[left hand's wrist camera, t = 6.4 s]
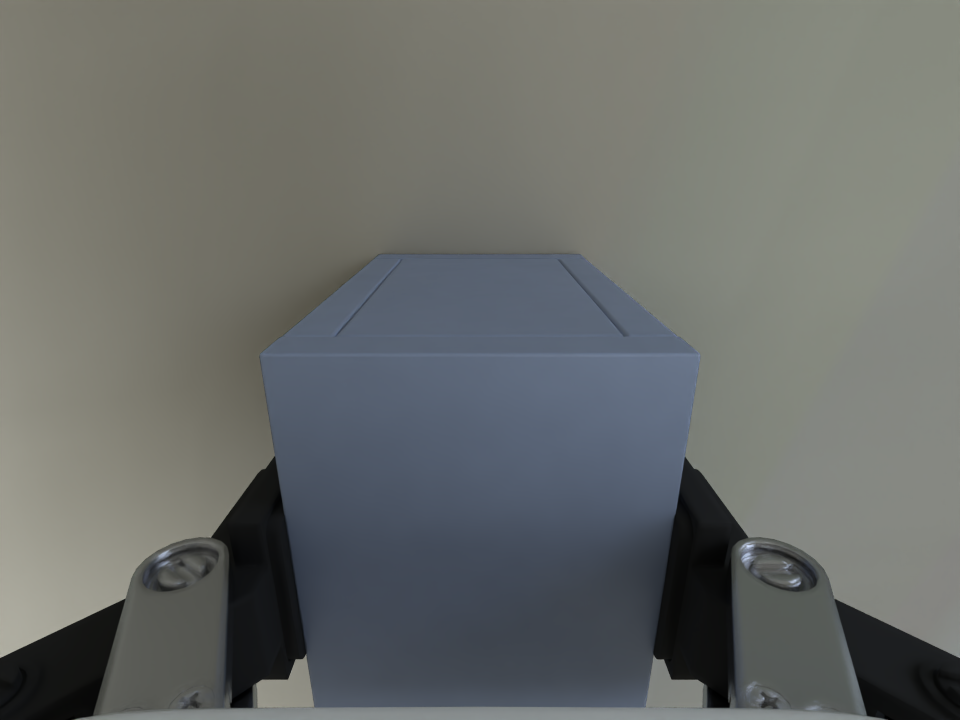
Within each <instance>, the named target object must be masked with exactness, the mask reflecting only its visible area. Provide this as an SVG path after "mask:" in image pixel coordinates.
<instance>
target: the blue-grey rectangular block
mask: <svg viewBox="0 0 960 720" xmlns="http://www.w3.org/2000/svg"><path fill="white" fill-rule="evenodd" d="M699 362H700V353H699V352H697V351H696V350H695V349H694V348H693V347H691V346H690V345H689V344H688V343H687V342H685V341H684V340H683V339H682V338H680V337H677V335H675V334H674V333H673V332H672V331H671V330H669V329H668V328H667V327H666V326H665V325H663V324H662V323H661V322H660V321H659V320H657V319H656V318H655V317H654V316H653V315H652V314H650V313H649V312H648V311H647V310H646V309H644V308H643V307H642V306H641V305H640V304H638V303H637V302H636V301H635V300H634V299H632V298H631V297H630V296H629V295H628V294H627V293H625V292H624V291H623V290H622V289H621V288H619V287H618V286H617V285H616V284H615V283H613V282H612V281H611V280H610V279H609V278H607V277H606V276H605V275H604V274H603V273H601V272H600V271H599V270H598V269H597V268H596V267H594V266H593V265H592V264H591V263H590V262H588V261H587V260H586V259H585V258H584V257H583V256H582V255H580V254H379V255H378V256H376V257H375V258H374V259H373V260H372V261H371V262H370V263H368V264H367V265H366V266H365V267H364V268H363V269H361V270H360V271H359V272H358V273H357V274H355V275H354V276H353V277H352V278H351V279H349V280H348V281H347V282H346V283H345V284H344V285H342V286H341V287H340V288H339V289H338V290H336V291H335V292H334V293H333V294H332V295H330V296H329V297H328V298H327V299H326V300H325V301H323V302H322V303H321V304H320V305H319V306H317V307H316V308H315V309H314V310H313V311H311V312H310V313H309V314H308V315H307V316H306V317H304V318H303V319H302V320H301V321H300V322H298V323H297V324H296V325H295V326H294V327H293V328H291V329H290V330H289V331H288V332H287V333H285V334H284V335H283V337H280V338H278V339H277V340H276V341H275V342H274V343H272V344H271V345H270V346H269V347H268V348H266V349H265V350H264V351H263V352H262V353H260V363H261V369H262V375H263V382H264V388H265V395H266V401H267V407H268V414H269V420H270V426H271V433H272V439H273V445H274V452H275V458H276V465H277V471H278V477H279V484H280V490H281V496H282V503H283V509H284V515H285V522H286V528H287V535H288V541H289V547H290V554H291V560H292V566H293V573H294V579H295V585H296V592H297V598H298V604H299V611H300V617H301V624H302V630H303V636H304V643H305V649H306V655H307V662H308V668H309V674H310V681H311V687H312V694H313V700H314V706H315V708H328V707H632V708H645V706H646V700H647V693H648V687H649V681H650V674H651V668H652V662H653V655H654V654H653V653H654V646H655V640H656V633H657V627H658V621H659V614H660V608H661V601H662V595H663V589H664V582H665V576H666V570H667V563H668V557H669V550H670V544H671V538H672V531H673V525H674V518H675V514H676V508H677V502H678V496H679V489H680V483H681V477H682V470H683V464H684V457H685V451H686V445H687V438H688V432H689V426H690V419H691V413H692V406H693V400H694V394H695V387H696V381H697V375H698V368H699Z"/></svg>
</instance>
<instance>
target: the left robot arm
mask: <svg viewBox="0 0 960 720" xmlns="http://www.w3.org/2000/svg"><path fill="white" fill-rule="evenodd" d="M653 654H654V656H655V657H656V659H664V661H665V663H666V666H667V669H668V671H669V674H670V677H671V679H672V680H699V681H701V682H702V683H704V687H703V708H632V707H328V708H257V687H256V683H257V682H259V681H260V680H287V679H288V678H289V675H290V673H291V670H292V667H293V665H294V662H295V659H303V658H304V657H305V655H306V649H305V643H304V636H303V630H302V624H301V617H300V611H299V604H298V598H297V592H296V585H295V579H294V573H293V566H292V560H291V554H290V547H289V541H288V535H287V528H286V522H285V515H284V509H283V503H282V496H281V490H280V484H279V477H278V471H277V465H276V458H275V457H274V458H273V459H272V461H271V462H270V463H269V465H268V466H267V468H266V469H263V470H261V471H260V472H259V473H258V474H257V475H256V477H255V478H254V480H253V481H252V482H251V484H250V485H249V486H248V488H247V489H246V490H245V492H244V493H243V495H242V496H241V497H240V499H239V500H238V501H237V503H236V504H235V506H234V507H233V508H232V510H231V511H230V512H229V514H228V515H227V516H226V518H225V519H224V521H223V522H222V523H221V525H220V526H219V527H218V529H217V530H216V532H215V533H214V534H213V536H212V537H211V538H203V537H199V538H192V539H186V540H182V541H179V542H176V543H173V544H170V545H168V546H166V547H164V548H162V549H160V550H158V551H157V552H155V553H154V554H152V555H151V556H149V557H148V558H147V559H145V560H144V561H143V562H142V563H141V564H140V566H139V567H138V568H137V569H136V571H135V572H134V574H133V576H132V578H131V582H130V585H129V589H128V592H127V596H126V599H124V600H122V601H120V602H117V603H115V604H113V605H111V606H109V607H107V608H105V609H103V610H101V611H98V612H96V613H94V614H92V615H90V616H88V617H86V618H84V619H82V620H80V621H77V622H75V623H73V624H71V625H69V626H67V627H65V628H63V629H61V630H58V631H56V632H54V633H52V634H50V635H48V636H46V637H44V638H42V639H39V640H37V641H35V642H33V643H31V644H29V645H27V646H25V647H23V648H20V649H18V650H16V651H14V652H12V653H10V654H8V655H6V656H4V657H2V658H0V720H960V658H958V657H956V656H954V655H952V654H950V653H948V652H946V651H943V650H941V649H939V648H937V647H935V646H933V645H931V644H929V643H927V642H924V641H922V640H920V639H918V638H916V637H914V636H912V635H910V634H908V633H905V632H903V631H901V630H899V629H897V628H895V627H893V626H891V625H889V624H886V623H884V622H882V621H880V620H878V619H876V618H874V617H872V616H870V615H867V614H865V613H863V612H861V611H859V610H857V609H855V608H853V607H851V606H848V605H846V604H844V603H842V602H840V601H838V600H836V599H834V596H833V592H832V589H831V585H830V582H829V578H828V576H827V574H826V572H825V571H824V569H823V568H822V567H821V566H820V564H819V563H818V562H817V561H816V560H815V559H813V558H812V557H811V556H809V555H808V554H806V553H805V552H803V551H802V550H800V549H798V548H796V547H794V546H792V545H790V544H787V543H784V542H781V541H778V540H774V539H768V538H761V537H757V538H748V536H747V535H746V534H745V532H744V531H743V530H742V528H741V527H740V525H739V524H738V523H737V521H736V520H735V519H734V517H733V516H732V515H731V513H730V512H729V510H728V509H727V508H726V506H725V505H724V504H723V502H722V501H721V499H720V498H719V497H718V495H717V494H716V493H715V491H714V490H713V489H712V487H711V486H710V484H709V483H708V482H707V480H706V479H705V478H704V476H703V475H702V473H701V472H699V471H698V470H697V469H693V467H692V466H691V464H690V463H689V462H688V460H687V459H686V457H684V464H683V470H682V477H681V483H680V489H679V496H678V502H677V508H676V514H675V518H674V525H673V531H672V538H671V544H670V550H669V557H668V563H667V570H666V576H665V582H664V589H663V595H662V601H661V608H660V614H659V621H658V627H657V633H656V640H655V646H654V653H653Z"/></svg>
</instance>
